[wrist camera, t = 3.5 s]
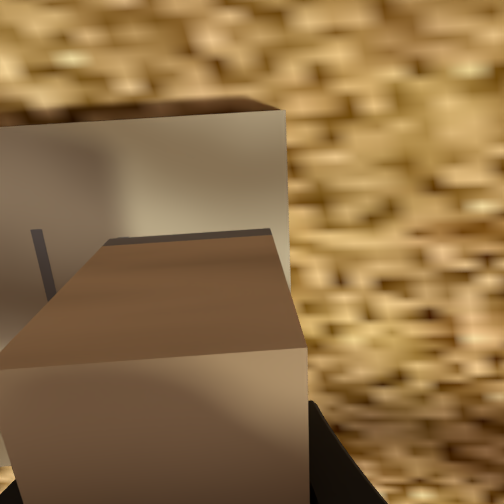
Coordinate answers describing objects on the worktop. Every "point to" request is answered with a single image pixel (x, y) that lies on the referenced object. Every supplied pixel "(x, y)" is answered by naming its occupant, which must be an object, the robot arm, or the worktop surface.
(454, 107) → the worktop surface
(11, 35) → the worktop surface
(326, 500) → the robot arm
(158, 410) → the block
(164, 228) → the board
